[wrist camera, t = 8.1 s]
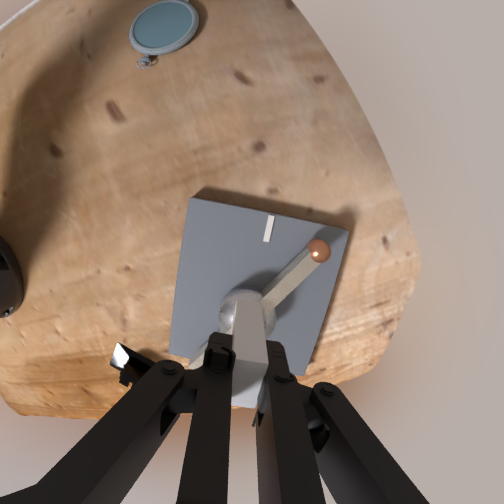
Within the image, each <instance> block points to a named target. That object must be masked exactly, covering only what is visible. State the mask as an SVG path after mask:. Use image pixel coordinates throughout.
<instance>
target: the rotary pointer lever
mask: <svg viewBox="0 0 504 504" xmlns="http://www.w3.org/2000/svg"><path fill="white" fill-rule="evenodd" d="M330 256H331V248H330V246H329V245H328V244H327V243H326V242H324V241H323V240H322V239H320V238H312V239H311V240H309V241H308V243H307V245H306V248H305V249H304V250H303V251H302V252H301V253H300V254H299V255H298V256H297V257H296V258H295V259H294V260H293V261H292V262H291V263H290V264H289V265H288V266H287V267H286V268H285V269H284V270H283V271H282V272H281V273H280V274H279V275H278V276H277V277H276V278H275V279H274V280H272V281H271V282H270V283H269V284H268V285H267V286H266V287H265V288H264V289H263V290H262V289H260V288H257V287H254V286H240V287H237V288H235V289H232V290H231V291H229V292H228V293H227V294H226V295H225V296H224V298H223V300H222V302H221V305H220V310H219V315H218V325H219V328H220V331H219V333H225V334H230V330H231V325H232V320H233V315H234V310H235V305H236V300H237V298H239V299H244V300H250V301H256V302H261V307H262V315H263V323H264V331H265V339H267V338H269V337H270V335H271V334H272V333H273V331H274V329H275V327H276V313H275V307H276V306H277V305H278V304H279V303H280V302H281V301H282V300H283V299H284V298H285V297H286V296H287V295H288V294H289V293H291V292H292V291H293V290H294V289H295V288H296V287H297V286H298V285H299V284H300V283H301V282H302V281H303V280H304V279H305V278H306V277H307V276H308V275H309V274H310V273H311V272H312V271H313V270H314V269H315V268H316V267H317V266H318V265H319V264H320V263H324V262H326V261H327V260H328V259H329V258H330ZM207 345H208V342H207V343H206V344H205V345H204V346H202V347H201V348H200V349H199V350H198V351H197V352H196V353H195V354H194V355H193V356H191V358H190V362H189V365H188V367H189V368H190V369H196V368H199V367H200V366H202V365H203V359H204V353H205V349H206V348H207Z"/></svg>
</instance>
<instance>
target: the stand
mask: <svg viewBox="0 0 504 504" xmlns="http://www.w3.org/2000/svg"><path fill="white" fill-rule="evenodd" d="M348 234H349V231H348V230H346V229H343V228H339V227H335V226H331V225H326V224H322V223H318V222H313V221H309V220H305V219H300V218H296V217H291V216H286V215H282V214H277V213H272V212H268V211H263V210H258V209H253V208H248V207H243V206H238V205H233V204H228V203H223V202H218V201H213V200H207V199H202V198H196V197H190V198H189V203H188V209H187V215H186V221H185V227H184V233H183V239H182V246H181V252H180V259H179V266H178V273H177V281H176V289H175V297H174V305H173V314H172V324H171V334H170V344H169V354H173V355H177V356H181V357H186V358H191V356H193V355H194V354H195V353H196V352H197V351H198V350H199V349H200V348H201V347H202V346H204V345H205V344H206V343H207V342H208V340H209V336H210V335H211V334H212V333H213V332H219V331H220V328H219V325H218V315H219V310H220V305H221V302H222V300H223V298H224V296H225V295H226V294H227V293H228V292H229V291H231V290H232V289H235V288H237V287H240V286H254V287H257V288H260V289H262V290H263V289H264V288H265V287H266V286H267V285H268V284H269V283H270V282H271V281H272V280H274V279H275V278H276V277H277V276H278V275H279V274H280V273H281V272H282V271H283V270H284V269H285V268H286V267H287V266H288V265H289V264H290V263H291V262H292V261H293V260H294V259H295V258H296V257H297V256H298V255H299V254H300V253H301V252H302V251H303V250H304V249H305V248H306V245H307V243H308V241H309V240H311V239H312V238H320V239H322V240H323V241H324V242H326V243H327V244H328V245H329V246H330V248H331V256H330V258H329V259H328V260H327V261H326V262H324V263H320V264H319V265H318V266H317V267H316V268H315V269H314V270H313V271H312V272H311V273H310V274H309V275H308V276H307V277H306V278H305V279H304V280H303V281H302V282H301V283H300V284H299V285H298V286H297V287H296V288H295V289H294V290H293V291H292V292H291V293H289V294H288V295H287V296H286V297H285V298H284V299H283V300H282V301H281V302H280V303H279V304H278V305H277V306H276V307H275V313H276V327H275V329H274V331H273V333H272V334H271V335H270V337H269V338H267V339H266V340H271V341H278V342H280V343H281V344H282V345H283V346H284V348H285V352H286V357H287V361H288V366H289V370H290V372H291V373H292V374H293V375H299V376H304V374H305V372H306V369H307V366H308V364H309V361H310V358H311V355H312V352H313V350H314V347H315V344H316V341H317V338H318V335H319V332H320V329H321V326H322V323H323V320H324V317H325V314H326V311H327V308H328V305H329V301H330V298H331V295H332V292H333V288H334V285H335V282H336V278H337V275H338V271H339V268H340V264H341V260H342V257H343V253H344V249H345V246H346V242H347V238H348Z"/></svg>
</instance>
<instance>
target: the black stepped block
mask: <svg viewBox="0 0 504 504" xmlns="http://www.w3.org/2000/svg"><path fill="white" fill-rule="evenodd" d="M154 364H155V362H153V361H151V360H149V359H147V358H146V357H144V356H142V355H140V354H138V353H136V352H135V351H133V350H131V349H129V348H128V347H126V346H124V345H122V344H121V343H119V342H118V343H117V346H116V348H115V351H114V354H113V356H112V359H111V362H110V365H111V366H112V367H114V368H116V369H118V370H119V371H121V372H120V374H121V375H120V377H119V378H120V381H119V383H121V384H123V385H124V386H126V387H128V385H129V383H130V382H131V383H133V384H132V387H133V386H134V385H135V384H136V383H137V382H138V381H139V380H140V379H141V378H142V377H143V375H144V374H145V373H146V372H147V371H148V370H149V369H150V368H151V367H152V366H153V365H154ZM132 387H131V388H132Z"/></svg>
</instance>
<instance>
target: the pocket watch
mask: <svg viewBox="0 0 504 504" xmlns="http://www.w3.org/2000/svg"><path fill="white" fill-rule="evenodd" d="M198 25H199V15H198V13H197V11H196V9H195V8H194V7H193V6H192V5H191V4H189V0H162V1H159V2H156V3H153V4H151V5H149V6H148V7H146V8H145V9H143V10H142V11H141V12H140V13H139V14H138V15H137V16H136V18H135V19H134V21H133V23H132V25H131V27H130V31H129V38H130V42H131V44H132V46H133V47H134V48H135V49H136V50H137V51H139V52H141V53H143V54H146V56H145V57H142V58H141V59H139V60H140V61H142V62H141V64H143V65H146V62H150V65H149V66H147V67H140V66H138V65H137V62H138V61H139V60H137V61H136V66H137V67H139V68H148V67H150V66H151V64H152V63H151V61H150V59H149V58H148V57H149V56H150V55H163V54H167V53H170V52H173V51H175V50H177V49H179V48H181V47H182V46H184V45H185V44H186V43H187V42H188V41H189V40H190V39H191V38H192V37H193V36H194V34H195V32H196V30H197V28H198Z"/></svg>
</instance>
